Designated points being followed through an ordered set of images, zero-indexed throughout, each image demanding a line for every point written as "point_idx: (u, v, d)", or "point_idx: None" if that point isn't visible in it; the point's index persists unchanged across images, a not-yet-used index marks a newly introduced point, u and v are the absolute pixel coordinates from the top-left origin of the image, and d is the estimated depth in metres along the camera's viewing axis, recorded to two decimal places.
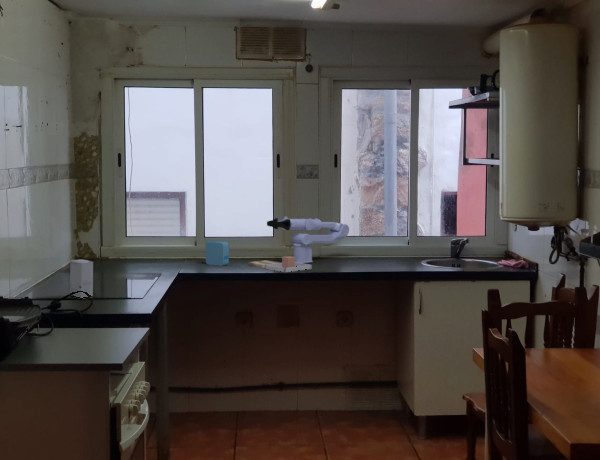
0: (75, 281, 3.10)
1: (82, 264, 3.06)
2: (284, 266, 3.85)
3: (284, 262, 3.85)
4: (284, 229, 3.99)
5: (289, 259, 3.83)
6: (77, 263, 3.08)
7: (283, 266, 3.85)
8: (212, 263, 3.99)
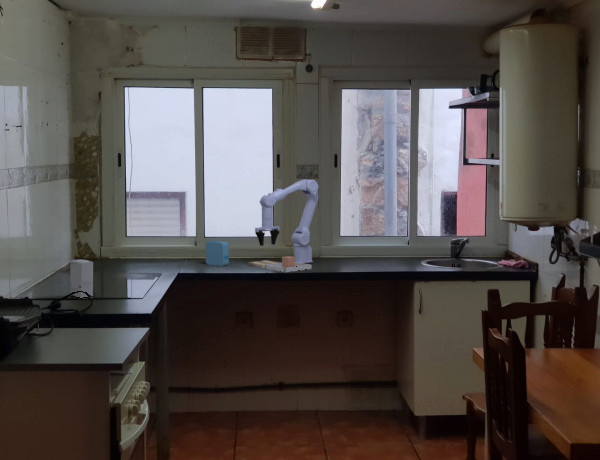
0: (75, 281, 3.10)
1: (82, 264, 3.07)
2: (284, 266, 3.85)
3: (284, 262, 3.85)
4: None
5: (289, 259, 3.83)
6: (77, 263, 3.08)
7: (283, 266, 3.85)
8: (212, 263, 3.99)
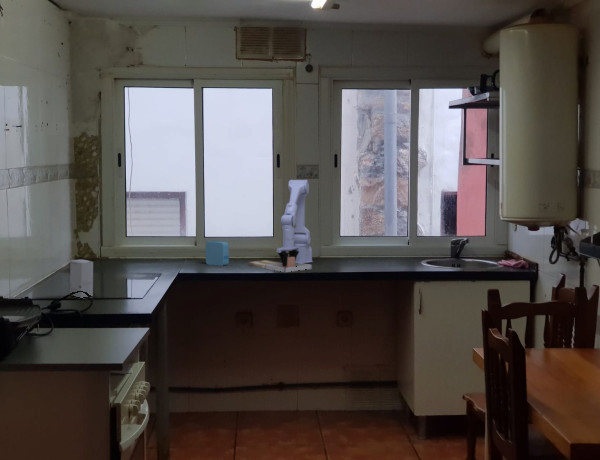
0: (75, 281, 3.10)
1: (82, 264, 3.07)
2: (284, 266, 3.85)
3: None
4: None
5: (289, 259, 3.83)
6: (77, 263, 3.08)
7: (283, 266, 3.85)
8: (212, 263, 3.99)
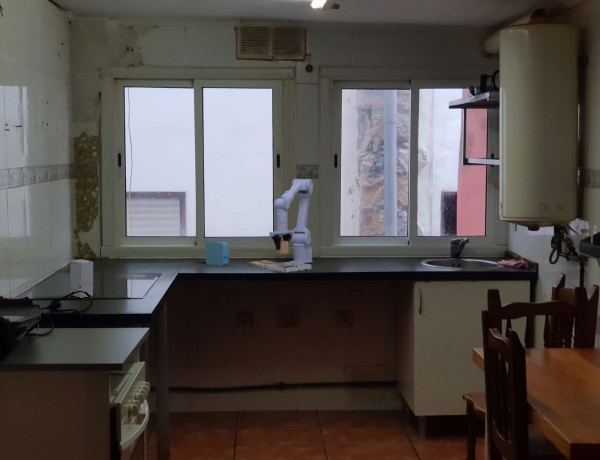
0: (75, 281, 3.10)
1: (82, 264, 3.07)
2: (278, 250, 3.87)
3: None
4: None
5: (283, 243, 3.85)
6: (77, 263, 3.08)
7: (277, 250, 3.88)
8: (212, 263, 3.99)
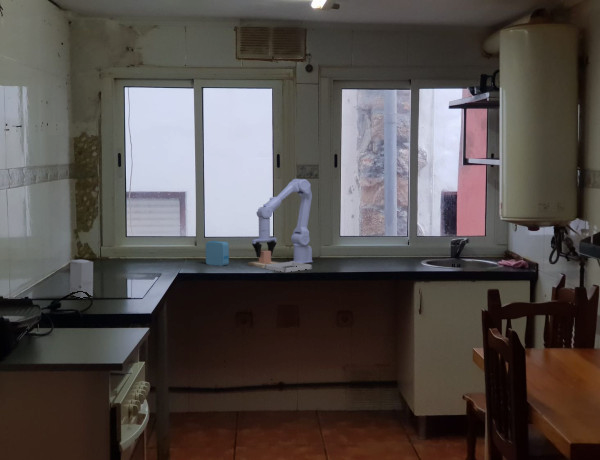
0: (75, 281, 3.10)
1: (82, 264, 3.07)
2: (260, 260, 3.96)
3: (260, 256, 3.96)
4: (267, 240, 3.94)
5: (265, 253, 3.94)
6: (77, 263, 3.08)
7: (260, 260, 3.97)
8: (212, 263, 3.99)
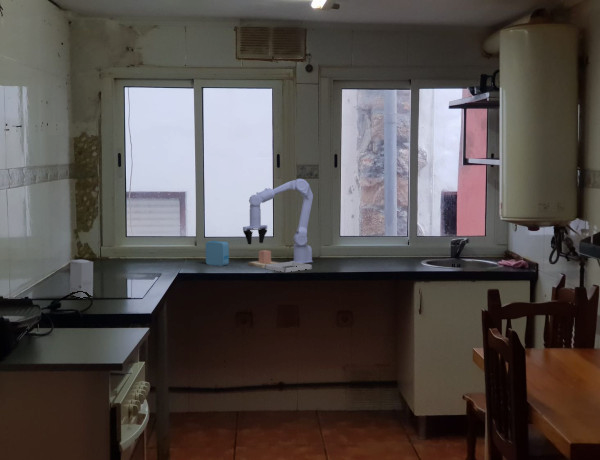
0: (75, 281, 3.10)
1: (82, 264, 3.07)
2: (260, 260, 3.96)
3: (260, 256, 3.96)
4: (258, 228, 4.01)
5: (265, 253, 3.94)
6: (77, 263, 3.08)
7: (260, 260, 3.97)
8: (212, 263, 3.99)
